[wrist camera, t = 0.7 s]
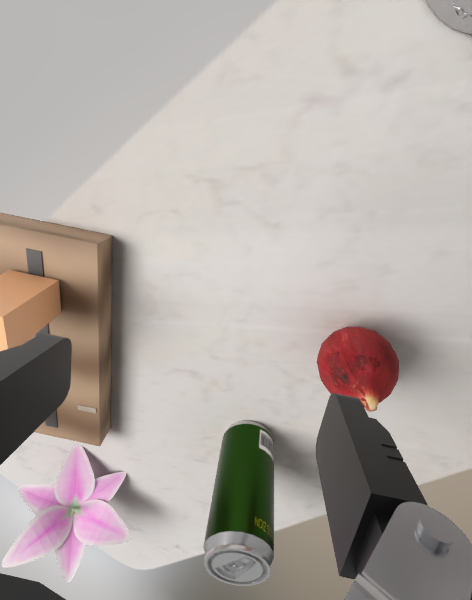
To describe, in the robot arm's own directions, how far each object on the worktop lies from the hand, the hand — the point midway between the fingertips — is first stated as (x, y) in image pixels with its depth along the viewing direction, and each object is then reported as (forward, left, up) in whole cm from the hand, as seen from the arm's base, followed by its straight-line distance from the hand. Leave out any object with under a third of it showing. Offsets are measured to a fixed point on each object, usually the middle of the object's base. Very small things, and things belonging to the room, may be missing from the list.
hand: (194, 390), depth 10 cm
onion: (+7, +10, -18) cm, 22 cm away
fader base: (+13, -16, -18) cm, 27 cm away
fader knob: (+7, -16, -15) cm, 23 cm away
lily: (+33, -13, -18) cm, 40 cm away
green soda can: (+21, +4, -18) cm, 28 cm away
